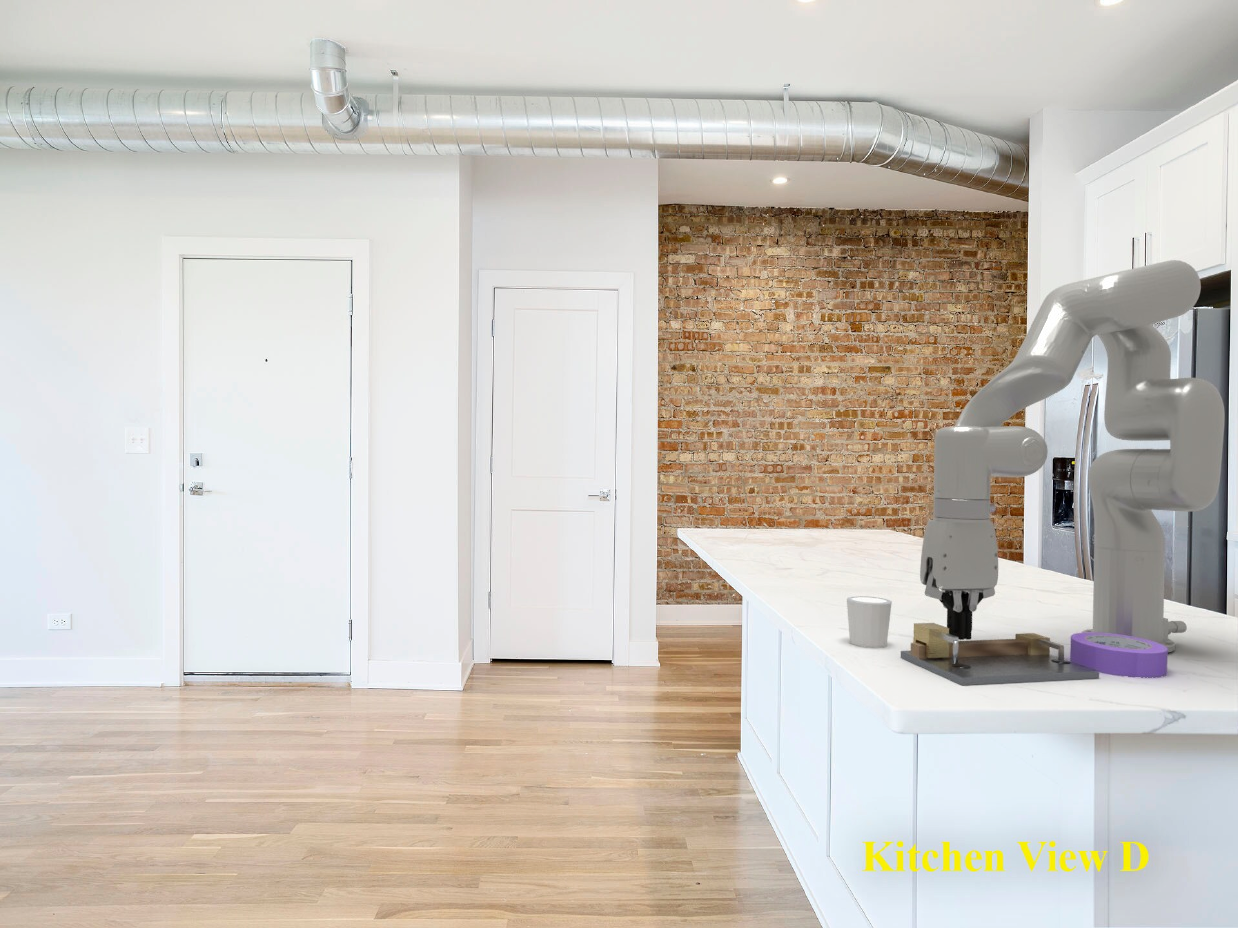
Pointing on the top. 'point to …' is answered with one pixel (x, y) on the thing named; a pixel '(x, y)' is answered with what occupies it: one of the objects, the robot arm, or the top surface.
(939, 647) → the sliding head
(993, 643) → the trammel beam
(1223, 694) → the top surface
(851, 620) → the light grey cup
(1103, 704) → the top surface
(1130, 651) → the masking tape
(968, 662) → the plate
